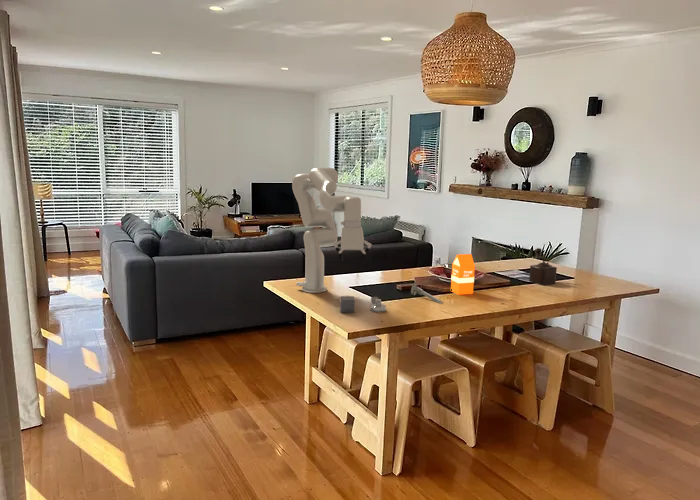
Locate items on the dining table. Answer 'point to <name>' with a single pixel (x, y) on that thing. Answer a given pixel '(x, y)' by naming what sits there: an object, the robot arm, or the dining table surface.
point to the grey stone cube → (347, 304)
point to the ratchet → (377, 305)
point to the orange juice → (463, 274)
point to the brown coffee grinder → (542, 271)
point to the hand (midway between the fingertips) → (352, 262)
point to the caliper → (420, 291)
